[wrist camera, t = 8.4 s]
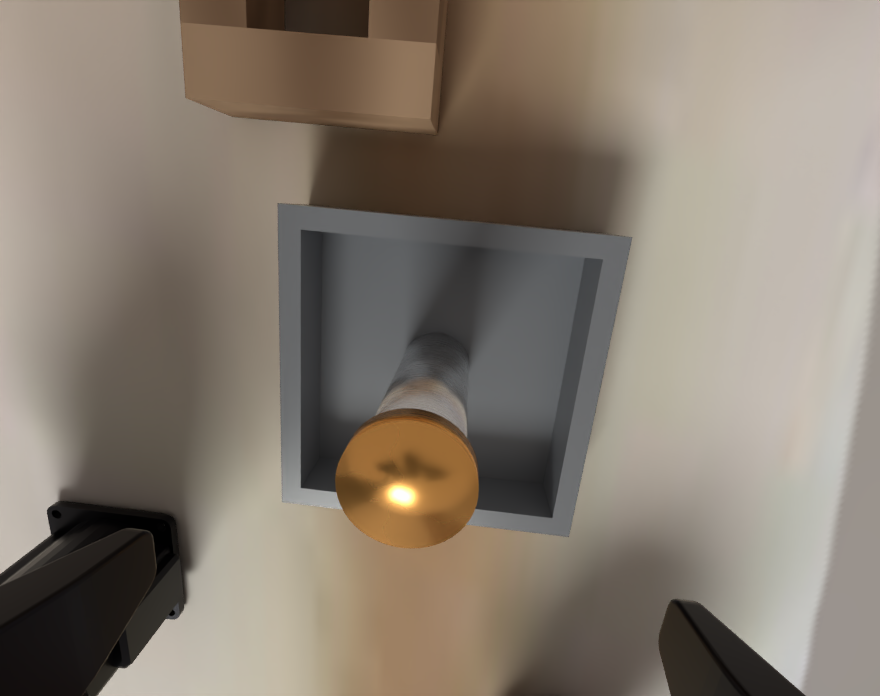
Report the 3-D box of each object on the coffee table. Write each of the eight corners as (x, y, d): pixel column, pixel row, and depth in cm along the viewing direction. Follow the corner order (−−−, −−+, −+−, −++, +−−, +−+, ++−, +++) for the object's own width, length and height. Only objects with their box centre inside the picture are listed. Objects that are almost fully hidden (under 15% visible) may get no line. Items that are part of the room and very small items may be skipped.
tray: (306, 463, 22) (281, 502, 19) (308, 204, 18) (277, 203, 15) (555, 493, 21) (568, 536, 18) (605, 233, 18) (632, 237, 15)
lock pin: (394, 396, 20) (333, 539, 11) (399, 321, 19) (336, 414, 10) (471, 404, 20) (470, 556, 11) (480, 329, 19) (486, 432, 10)
